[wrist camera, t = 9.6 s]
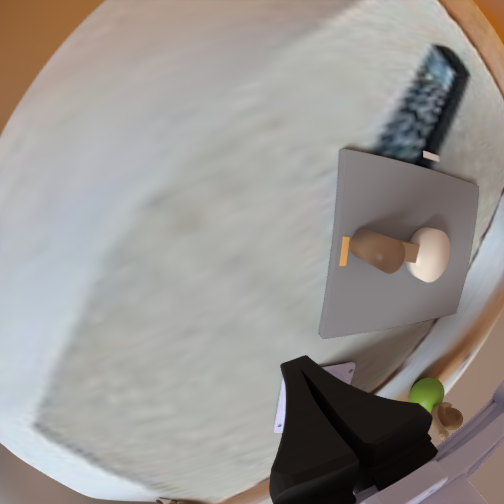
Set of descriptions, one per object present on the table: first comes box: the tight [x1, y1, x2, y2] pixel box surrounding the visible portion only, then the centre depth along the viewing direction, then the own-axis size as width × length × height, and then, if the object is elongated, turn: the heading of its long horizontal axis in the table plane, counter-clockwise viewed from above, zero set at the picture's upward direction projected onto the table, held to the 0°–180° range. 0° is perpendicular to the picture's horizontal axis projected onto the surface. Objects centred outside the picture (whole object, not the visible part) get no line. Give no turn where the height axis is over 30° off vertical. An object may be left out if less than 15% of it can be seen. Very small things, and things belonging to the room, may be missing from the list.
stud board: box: [318, 149, 479, 339], centre depth 23 cm, size 18×20×1 cm
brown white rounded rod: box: [350, 227, 450, 283], centre depth 20 cm, size 12×5×4 cm, turn 81°
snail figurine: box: [409, 377, 463, 441], centre depth 25 cm, size 5×6×12 cm
